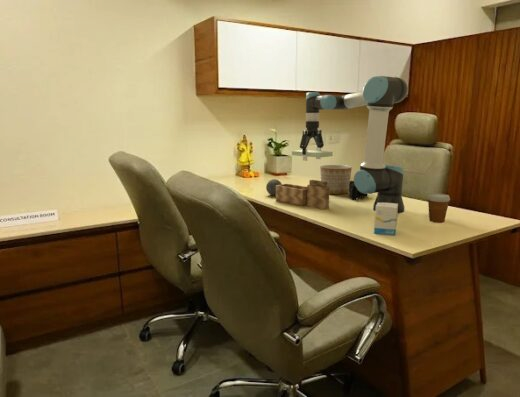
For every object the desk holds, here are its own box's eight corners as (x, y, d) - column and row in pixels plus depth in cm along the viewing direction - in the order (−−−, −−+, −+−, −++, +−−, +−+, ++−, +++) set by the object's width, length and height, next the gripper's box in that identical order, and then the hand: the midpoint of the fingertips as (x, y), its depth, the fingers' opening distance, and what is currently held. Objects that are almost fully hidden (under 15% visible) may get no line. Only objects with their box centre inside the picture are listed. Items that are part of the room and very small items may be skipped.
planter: (317, 194, 244) (317, 168, 240) (322, 189, 262) (323, 164, 258) (348, 196, 238) (349, 169, 234) (352, 190, 255) (353, 165, 252)
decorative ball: (264, 196, 239) (264, 180, 237) (268, 193, 248) (268, 177, 246) (280, 197, 236) (280, 180, 234) (284, 194, 245) (284, 178, 243)
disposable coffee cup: (421, 221, 180) (423, 195, 177) (430, 217, 186) (432, 192, 184) (443, 225, 173) (445, 198, 171) (451, 221, 180) (453, 195, 177)
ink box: (395, 235, 159) (397, 207, 156) (373, 233, 162) (375, 205, 159) (396, 230, 166) (398, 203, 164) (375, 228, 169) (377, 201, 167)
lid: (332, 156, 222) (332, 151, 222) (320, 157, 215) (320, 153, 215) (304, 153, 238) (304, 149, 237) (291, 155, 230) (291, 151, 230)
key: (327, 186, 204) (327, 181, 204) (324, 186, 203) (324, 182, 202) (312, 184, 211) (312, 179, 211) (309, 184, 210) (309, 180, 209)
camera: (368, 200, 225) (369, 183, 223) (349, 200, 226) (350, 183, 224) (365, 196, 238) (366, 179, 236) (347, 195, 240) (348, 179, 238)
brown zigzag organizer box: (332, 207, 208) (333, 186, 205) (321, 210, 202) (322, 188, 200) (286, 198, 232) (286, 179, 230) (275, 200, 226) (275, 181, 224)
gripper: (320, 120, 233) (319, 157, 237) (293, 121, 217) (293, 160, 222) (330, 120, 227) (329, 158, 232) (303, 121, 212) (303, 161, 216)
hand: (311, 159), depth 227 cm, fingers closed on lid, 11 cm apart
